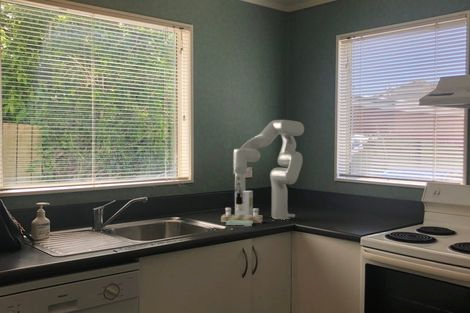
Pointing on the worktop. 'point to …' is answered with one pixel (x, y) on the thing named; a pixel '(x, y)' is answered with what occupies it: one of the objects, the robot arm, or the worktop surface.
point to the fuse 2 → (255, 212)
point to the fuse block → (242, 218)
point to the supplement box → (246, 203)
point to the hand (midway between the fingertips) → (239, 203)
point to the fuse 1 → (228, 211)
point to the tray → (239, 222)
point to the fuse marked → (239, 207)
